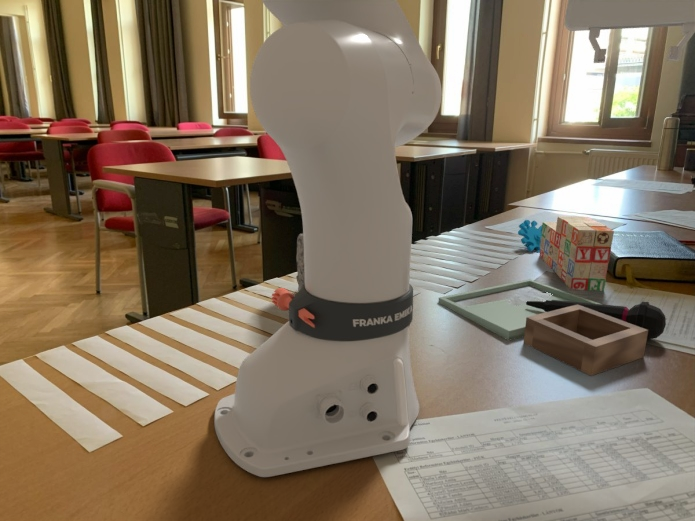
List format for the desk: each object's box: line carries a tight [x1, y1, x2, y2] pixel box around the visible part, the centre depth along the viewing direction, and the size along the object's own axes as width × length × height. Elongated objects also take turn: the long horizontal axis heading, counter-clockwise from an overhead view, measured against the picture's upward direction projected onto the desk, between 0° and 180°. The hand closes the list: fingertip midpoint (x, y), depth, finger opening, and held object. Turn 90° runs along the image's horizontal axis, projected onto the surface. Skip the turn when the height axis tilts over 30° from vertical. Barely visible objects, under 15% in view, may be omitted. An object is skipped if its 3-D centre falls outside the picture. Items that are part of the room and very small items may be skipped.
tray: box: [437, 278, 601, 341], centre depth 86 cm, size 22×16×2 cm
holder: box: [523, 304, 648, 377], centre depth 72 cm, size 11×11×4 cm
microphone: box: [526, 300, 667, 340], centre depth 80 cm, size 6×6×20 cm
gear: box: [517, 219, 542, 254], centre depth 123 cm, size 11×6×10 cm
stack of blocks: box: [539, 216, 615, 292], centre depth 104 cm, size 21×6×12 cm, turn 176°
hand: (635, 61), depth 74 cm, fingers open, 8 cm apart
